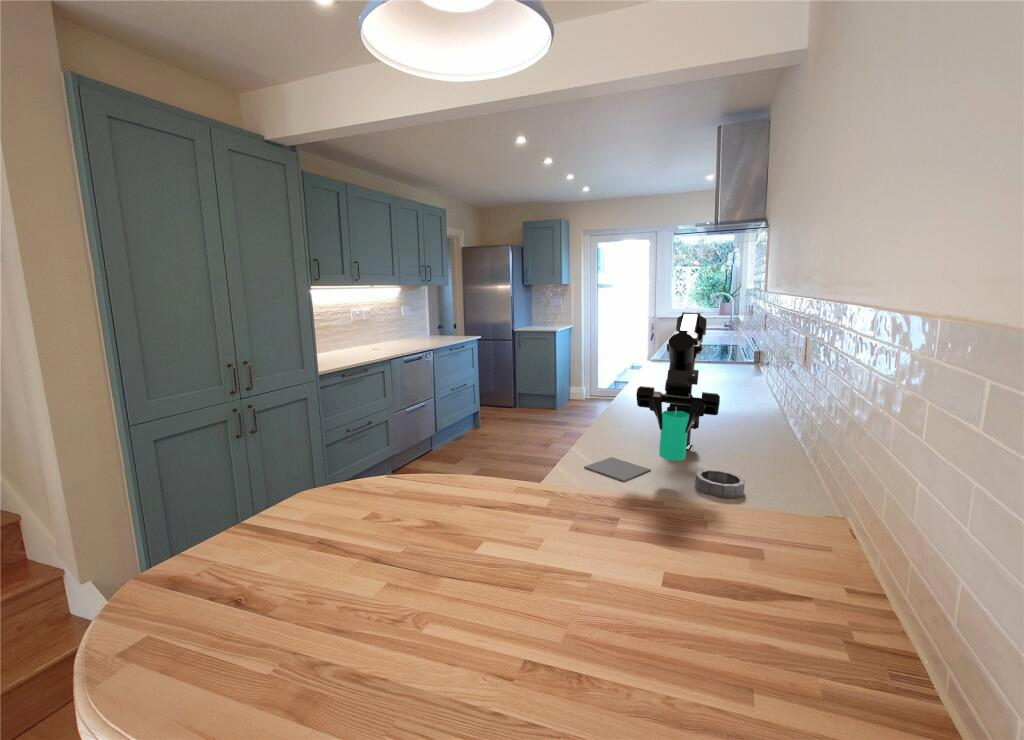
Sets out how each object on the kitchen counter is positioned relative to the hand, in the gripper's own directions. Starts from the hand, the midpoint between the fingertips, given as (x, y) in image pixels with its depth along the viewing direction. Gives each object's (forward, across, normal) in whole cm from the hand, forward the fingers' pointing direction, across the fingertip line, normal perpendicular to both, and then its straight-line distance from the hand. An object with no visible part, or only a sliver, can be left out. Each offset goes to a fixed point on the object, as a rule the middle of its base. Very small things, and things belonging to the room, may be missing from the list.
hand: (673, 430), depth 112 cm
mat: (+6, -13, +13) cm, 19 cm away
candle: (+4, 0, +6) cm, 7 cm away
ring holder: (+8, +11, +11) cm, 17 cm away
